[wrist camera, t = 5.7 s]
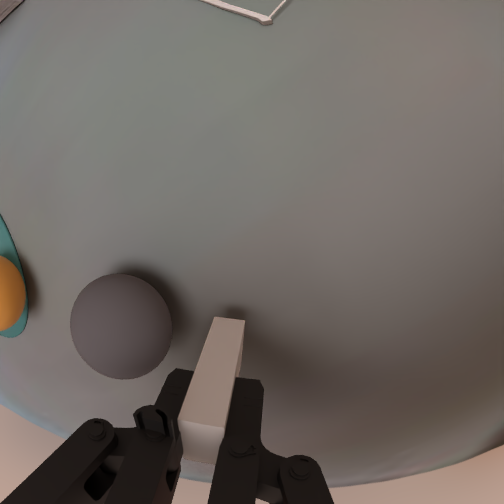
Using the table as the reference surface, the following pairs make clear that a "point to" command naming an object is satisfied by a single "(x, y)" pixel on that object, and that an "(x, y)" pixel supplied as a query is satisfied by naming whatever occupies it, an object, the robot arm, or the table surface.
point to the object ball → (10, 294)
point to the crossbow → (243, 11)
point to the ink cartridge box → (7, 7)
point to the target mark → (5, 247)
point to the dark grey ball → (121, 326)
